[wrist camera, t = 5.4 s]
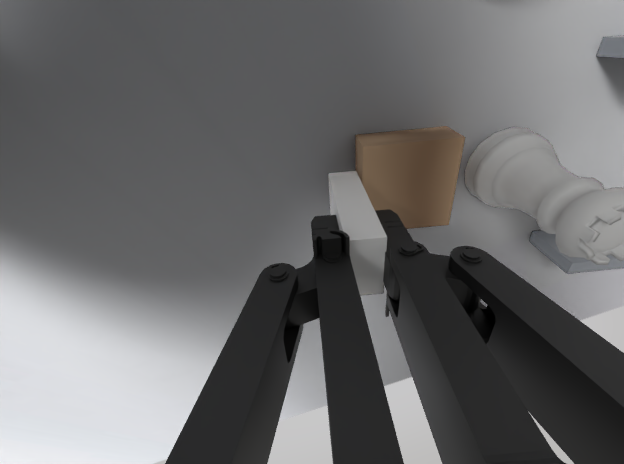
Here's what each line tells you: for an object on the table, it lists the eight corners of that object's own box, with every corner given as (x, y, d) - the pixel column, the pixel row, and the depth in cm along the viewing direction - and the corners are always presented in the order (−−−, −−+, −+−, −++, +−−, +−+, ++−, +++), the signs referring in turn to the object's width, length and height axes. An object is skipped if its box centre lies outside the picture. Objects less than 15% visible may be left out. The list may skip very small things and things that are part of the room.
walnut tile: (354, 212, 20) (361, 232, 18) (354, 133, 17) (362, 146, 15) (432, 204, 20) (448, 224, 18) (443, 124, 17) (465, 137, 15)
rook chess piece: (487, 114, 17) (622, 168, 10) (554, 136, 17) (720, 199, 11) (446, 188, 19) (532, 273, 12) (507, 204, 20) (620, 292, 13)
